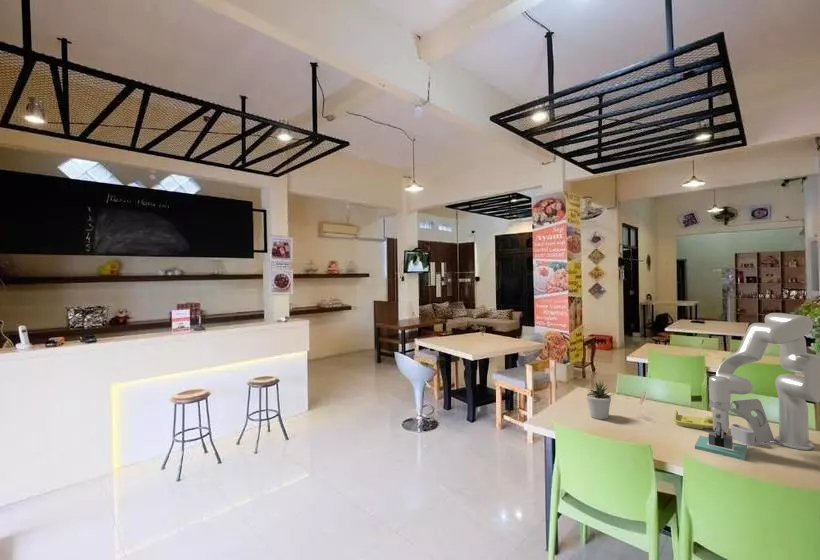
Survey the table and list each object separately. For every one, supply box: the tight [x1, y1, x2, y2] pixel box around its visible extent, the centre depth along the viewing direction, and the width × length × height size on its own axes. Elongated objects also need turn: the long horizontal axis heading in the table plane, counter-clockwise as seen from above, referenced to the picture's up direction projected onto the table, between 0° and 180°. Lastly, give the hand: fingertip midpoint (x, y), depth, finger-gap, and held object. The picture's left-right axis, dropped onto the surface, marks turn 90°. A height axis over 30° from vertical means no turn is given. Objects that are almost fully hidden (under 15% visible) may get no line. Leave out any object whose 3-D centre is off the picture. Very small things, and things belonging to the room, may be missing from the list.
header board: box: [694, 435, 748, 461], centre depth 174 cm, size 14×17×4 cm
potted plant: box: [585, 379, 614, 420], centre depth 216 cm, size 13×14×20 cm
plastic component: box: [673, 410, 713, 430], centre depth 199 cm, size 20×7×10 cm
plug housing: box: [708, 431, 734, 449], centre depth 174 cm, size 4×8×4 cm, turn 46°
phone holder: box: [730, 398, 779, 447], centre depth 181 cm, size 17×10×18 cm, turn 97°
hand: (720, 442), depth 174 cm, fingers open, 9 cm apart
